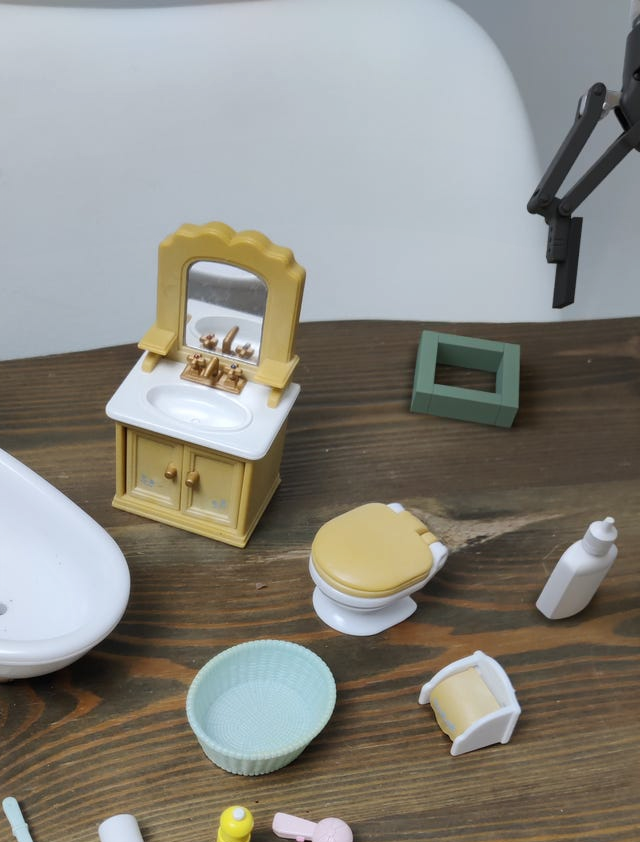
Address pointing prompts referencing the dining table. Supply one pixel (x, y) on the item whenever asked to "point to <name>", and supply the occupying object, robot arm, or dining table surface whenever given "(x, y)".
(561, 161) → the robot arm
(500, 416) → the socket pad
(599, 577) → the eye dropper bottle
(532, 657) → the dining table surface
